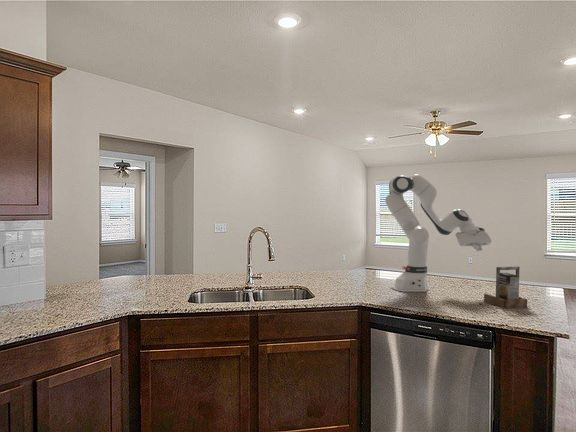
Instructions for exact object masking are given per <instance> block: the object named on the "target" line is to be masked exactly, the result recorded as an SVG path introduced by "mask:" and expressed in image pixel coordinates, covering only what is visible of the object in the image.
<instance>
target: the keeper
mask: <svg viewBox="0 0 576 432" xmlns="http://www.w3.org/2000/svg"><path fill="white" fill-rule="evenodd" d="M495 270H496V271H495V273H496V274H495V296H494V295H491V294H488V293H483V302H485V303H487V304H491V305H494V306H497V307H500V308H503V309H514V308H515V309H516V308H517V309H519V308H528V298H524V297H521V296H518V299H513V300H504V299H501V298H499V289H500V273H501V271H515V275H518V276H519V277H520V266H496V269H495Z"/></svg>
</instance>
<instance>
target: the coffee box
mask: <svg viewBox="0 0 576 432" xmlns="http://www.w3.org/2000/svg"><path fill="white" fill-rule="evenodd" d="M519 294H520V275H519V276H518V275H516V274H513V273H509V272H500V289H499V298H501V299H504V300H513V299H518V296H519ZM519 297H520V296H519Z"/></svg>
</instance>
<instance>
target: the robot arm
mask: <svg viewBox="0 0 576 432" xmlns="http://www.w3.org/2000/svg"><path fill="white" fill-rule="evenodd" d="M388 189H389V194H388V195H387V196H386V197H385V200H384V201H385V204H386V206H387V208H388V210H389V211H390V213H391V215H392V216H393V217H394V219H395V220H396V222H397V223H398V225H399V226H400V228H401V229H402V231H403V233H404V234H405V236H406V237H407V238H408V240H409V243H408V244H409V245H408V251H407V265H406V266H405V265H402V266H401V269H402V270H404V272H403V273H401V274H400V275H399V276H397V277H396V278H395V282H394V285H391V287H390V288H391V289H393V290H395V291H398V292H402V293H403V292H405V293H406V292H409V293H410V292H413V293H414V292H415V293H416V292H419V293H421V292H427V291H428V290H429V285H428V278H427V276H428V275H427V274H428V267H427V255H428V247H429V237H430V234H429V231H428V230H427V229H426V228H425V227H423V225H422V224H421V223H420V221H419V220H418V218H417V216H416V214H415V212H414V211H413V210H412V209H411V207H410V206H409V204H408V203H407V202H406V200H405V199H404V194H405V193H407V192H409V191H410V192H412V193H414V195H416V196H417V198H418V199H419V200H420V207H421V209H422V210H423V212H424V214H426V217H428V219H429V220H430V221H431V223H432V224H433V225H434V227H435V229H436V230H437V231H438V233H439V234H441V235H444V236H449V235H450V234H452V232H453V231H454V230H456V229H457V228H459V231H460V232H458V231H457V232H456V233H455V236H456V240H457V243H458V245H459V246H460V247H472V248H473V249H475V251H476V252H482V251H483V247H482V246H489V245H491V244H492V239H491V237H490V236H489V233H488V232H486V228H483V227H479V226H476V225H475V223H474V222H473V219H472V217H471V216H470V214H469V213H468V212H467V211H466V210H465V209H464V208H458V209H453V210H450V212H449V213H448V214H446V215H445V216H444V217H442V218H440V217H439V216H438V214H437V213H436V212H435V211H434V209H433V204H434V202H435V200H436V198H437V195H438V193H437V189H436V187H435V185H433V184H432V183H431V182H430V181H429V180H428V179H426V178H425V177H424V176H422V175H420V174H418V173H415V174H412V175H411V176H406V175H397V176H394V177H393V178H392V179H391V180H390V181H389V185H388Z"/></svg>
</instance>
